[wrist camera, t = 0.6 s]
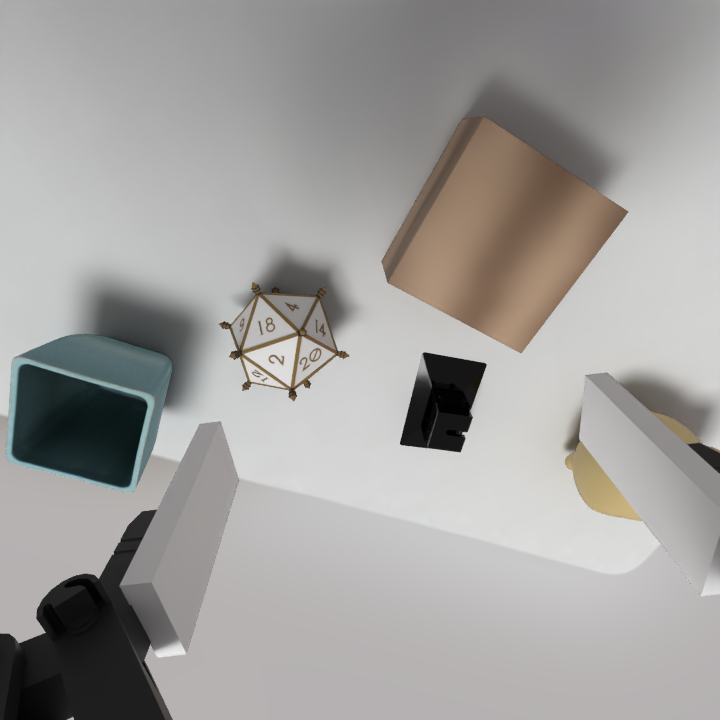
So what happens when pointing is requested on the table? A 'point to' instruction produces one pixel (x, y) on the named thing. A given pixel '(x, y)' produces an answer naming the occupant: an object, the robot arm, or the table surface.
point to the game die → (282, 339)
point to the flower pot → (87, 409)
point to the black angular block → (442, 402)
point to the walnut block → (498, 234)
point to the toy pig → (600, 487)
